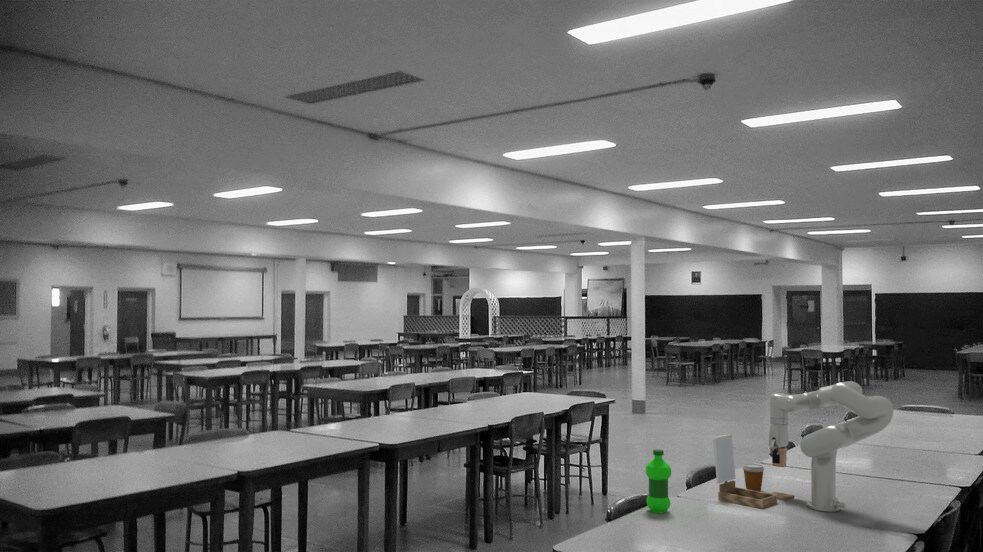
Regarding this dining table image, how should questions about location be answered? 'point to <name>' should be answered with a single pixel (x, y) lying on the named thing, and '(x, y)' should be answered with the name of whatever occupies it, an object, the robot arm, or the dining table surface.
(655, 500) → the plastic bottle
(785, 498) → the board
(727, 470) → the lid
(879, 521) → the dining table surface
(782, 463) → the pot
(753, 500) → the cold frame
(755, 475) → the disposable coffee cup
